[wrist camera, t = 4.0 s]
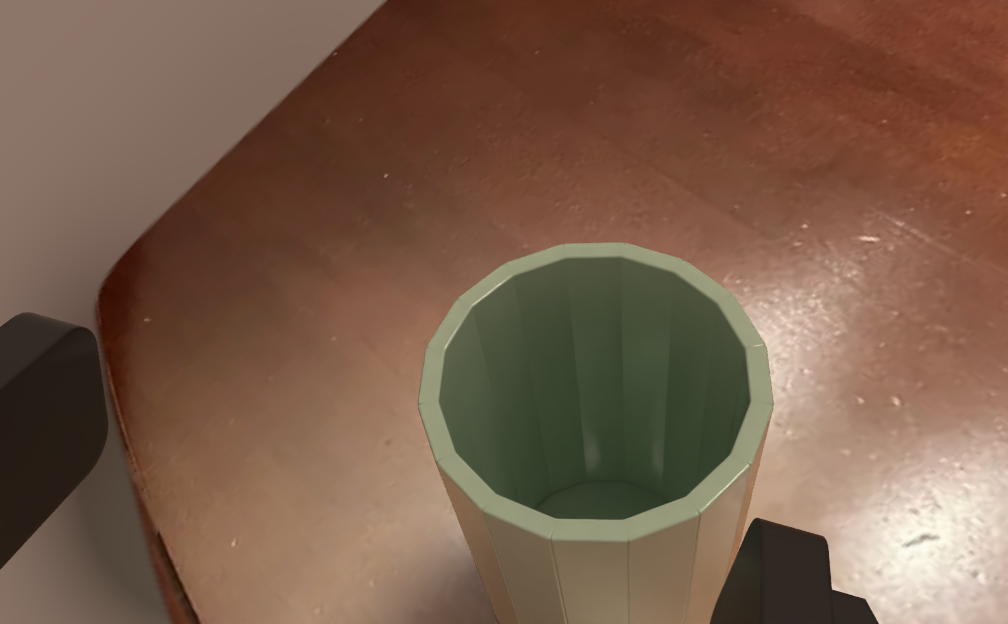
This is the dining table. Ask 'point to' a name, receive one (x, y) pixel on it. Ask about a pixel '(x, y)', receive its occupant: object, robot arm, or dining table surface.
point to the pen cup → (598, 433)
